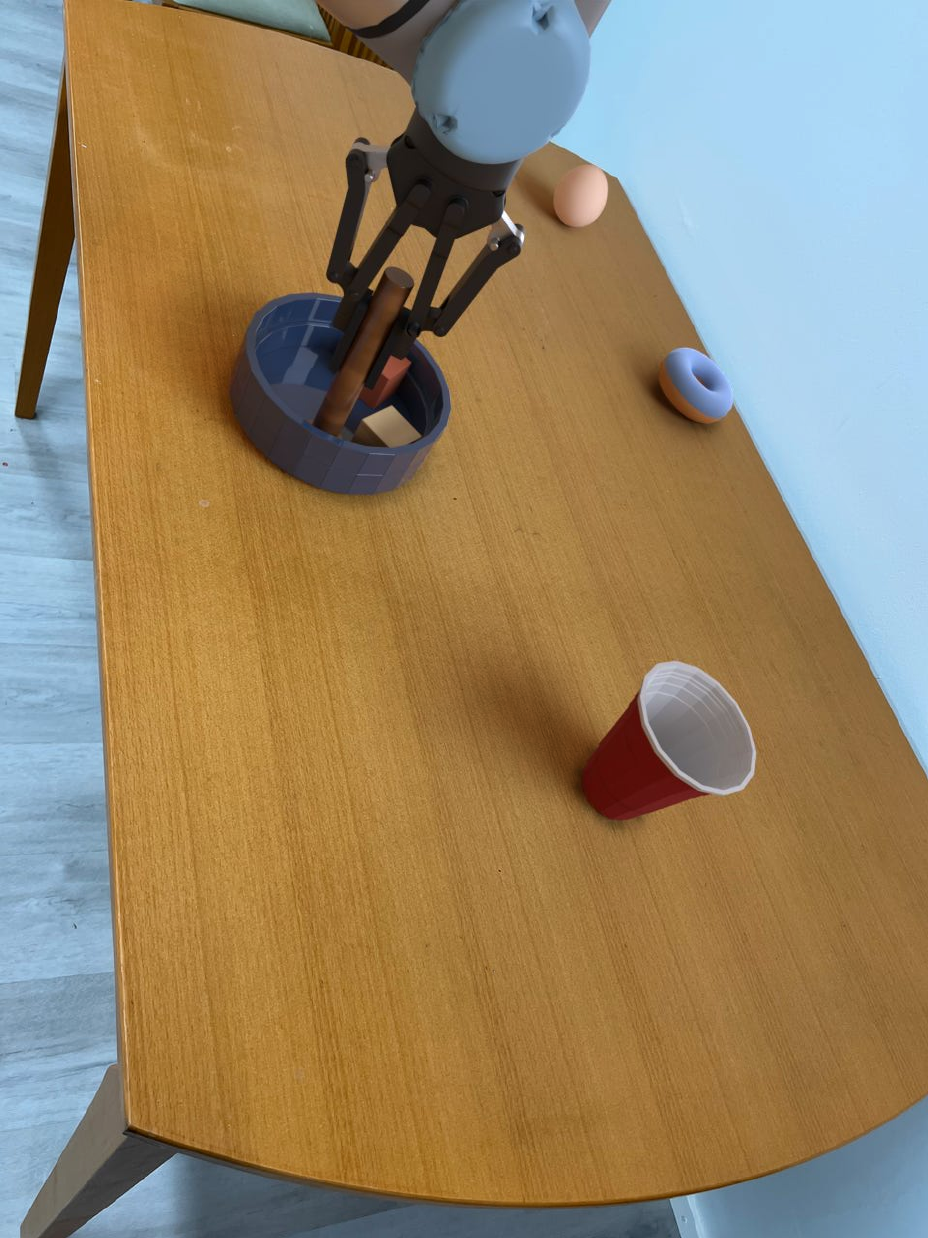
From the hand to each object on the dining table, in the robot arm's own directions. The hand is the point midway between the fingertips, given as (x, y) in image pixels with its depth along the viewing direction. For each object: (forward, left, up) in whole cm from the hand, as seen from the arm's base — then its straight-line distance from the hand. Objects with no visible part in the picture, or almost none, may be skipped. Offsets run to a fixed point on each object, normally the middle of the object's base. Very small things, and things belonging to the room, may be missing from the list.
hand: (354, 368), depth 78 cm
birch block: (+5, +2, -9) cm, 11 cm away
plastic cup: (+32, -21, -10) cm, 40 cm away
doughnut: (+38, +35, -10) cm, 53 cm away
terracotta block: (+2, +10, -9) cm, 14 cm away
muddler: (0, -1, -9) cm, 9 cm away
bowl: (0, +5, -10) cm, 11 cm away
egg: (+19, +59, -10) cm, 63 cm away
